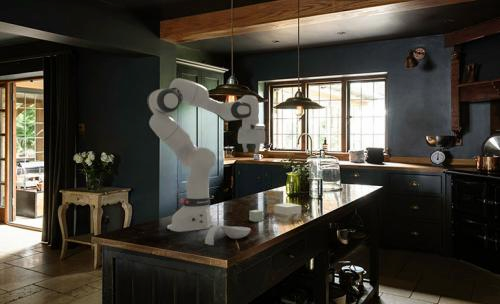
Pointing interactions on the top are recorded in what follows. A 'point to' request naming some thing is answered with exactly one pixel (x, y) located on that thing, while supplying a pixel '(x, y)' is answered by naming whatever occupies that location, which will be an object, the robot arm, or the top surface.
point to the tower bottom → (287, 217)
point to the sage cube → (256, 215)
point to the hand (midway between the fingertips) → (251, 152)
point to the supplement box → (274, 199)
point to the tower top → (287, 208)
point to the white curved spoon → (230, 231)
